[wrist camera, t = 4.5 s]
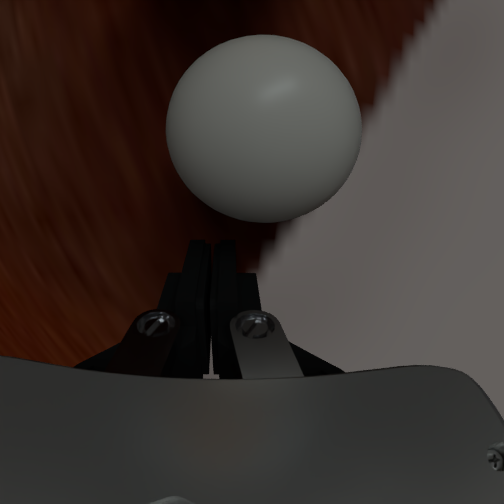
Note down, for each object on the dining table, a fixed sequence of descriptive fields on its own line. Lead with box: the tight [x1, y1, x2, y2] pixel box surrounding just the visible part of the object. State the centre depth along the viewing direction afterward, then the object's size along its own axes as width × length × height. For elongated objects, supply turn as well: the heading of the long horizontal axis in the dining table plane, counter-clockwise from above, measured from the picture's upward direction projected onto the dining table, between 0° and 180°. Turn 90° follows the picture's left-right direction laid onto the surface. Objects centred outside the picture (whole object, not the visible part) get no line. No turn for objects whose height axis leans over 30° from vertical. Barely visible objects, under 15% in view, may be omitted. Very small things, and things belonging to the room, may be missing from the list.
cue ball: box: [166, 35, 362, 223], centre depth 8 cm, size 6×6×6 cm
